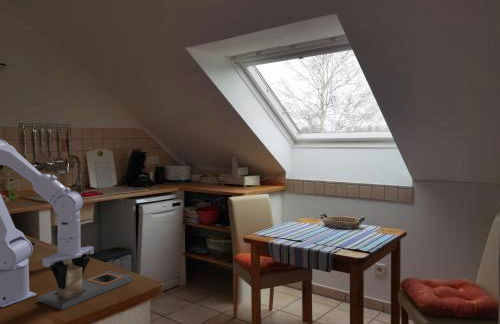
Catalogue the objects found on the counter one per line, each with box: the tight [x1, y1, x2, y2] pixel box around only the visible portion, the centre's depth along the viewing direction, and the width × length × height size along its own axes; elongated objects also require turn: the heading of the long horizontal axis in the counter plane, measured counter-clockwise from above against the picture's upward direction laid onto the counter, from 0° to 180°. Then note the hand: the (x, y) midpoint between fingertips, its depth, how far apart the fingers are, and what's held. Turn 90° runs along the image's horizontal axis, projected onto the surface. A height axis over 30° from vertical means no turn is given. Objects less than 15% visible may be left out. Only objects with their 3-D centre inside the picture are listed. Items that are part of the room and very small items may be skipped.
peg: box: [56, 263, 83, 298], centre depth 111 cm, size 4×4×8 cm
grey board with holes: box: [38, 270, 133, 311], centre depth 117 cm, size 24×10×2 cm, turn 150°
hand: (70, 285), depth 111 cm, fingers closed on peg, 4 cm apart
